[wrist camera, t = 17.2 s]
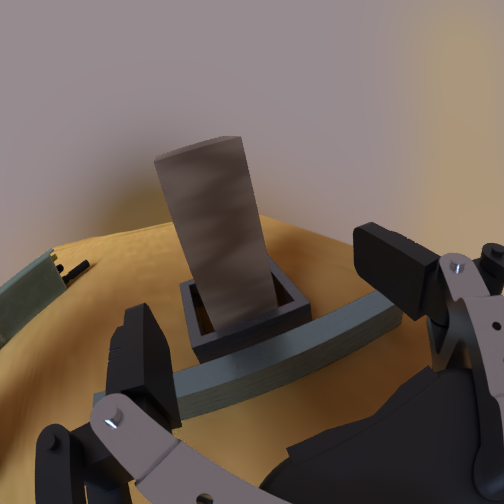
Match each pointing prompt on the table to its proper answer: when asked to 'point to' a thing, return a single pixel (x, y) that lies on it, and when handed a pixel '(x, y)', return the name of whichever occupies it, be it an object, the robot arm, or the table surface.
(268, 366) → the keeper
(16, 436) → the table surface
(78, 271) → the handheld radio
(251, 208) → the block
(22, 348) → the table surface
